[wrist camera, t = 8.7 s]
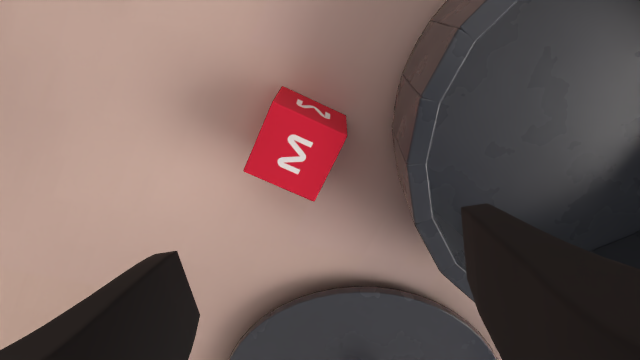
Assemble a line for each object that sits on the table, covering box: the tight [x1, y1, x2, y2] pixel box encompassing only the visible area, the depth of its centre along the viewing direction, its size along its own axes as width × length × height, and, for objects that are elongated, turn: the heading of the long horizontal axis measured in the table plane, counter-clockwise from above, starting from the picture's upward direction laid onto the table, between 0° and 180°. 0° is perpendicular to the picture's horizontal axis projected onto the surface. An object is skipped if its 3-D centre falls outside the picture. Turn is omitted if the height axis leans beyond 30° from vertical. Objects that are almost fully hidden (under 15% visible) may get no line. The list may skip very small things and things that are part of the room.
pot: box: [392, 0, 640, 302], centre depth 17 cm, size 14×14×5 cm
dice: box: [244, 86, 347, 201], centre depth 18 cm, size 3×3×3 cm
